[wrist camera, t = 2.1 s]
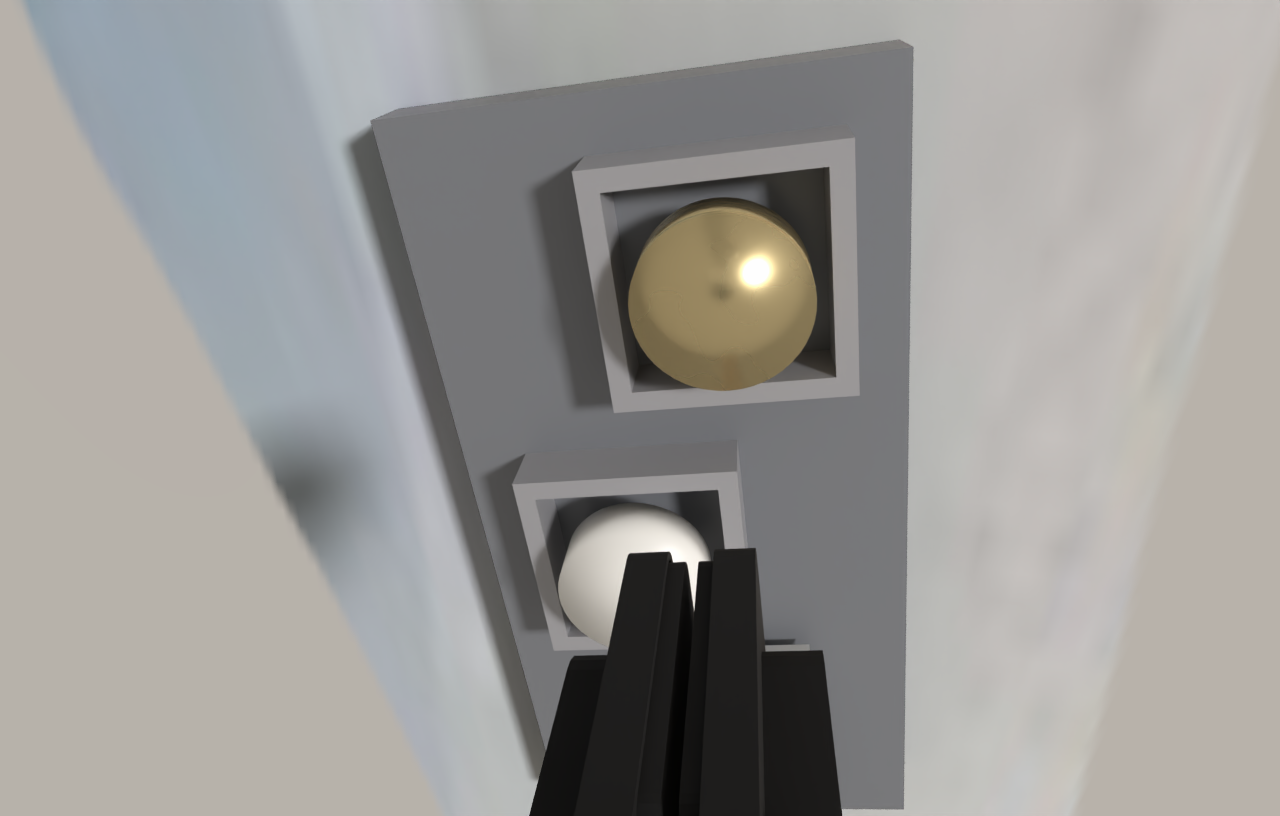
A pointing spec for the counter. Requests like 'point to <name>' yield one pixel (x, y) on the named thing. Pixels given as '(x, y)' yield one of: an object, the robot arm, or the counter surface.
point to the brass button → (723, 294)
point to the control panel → (651, 399)
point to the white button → (620, 560)
